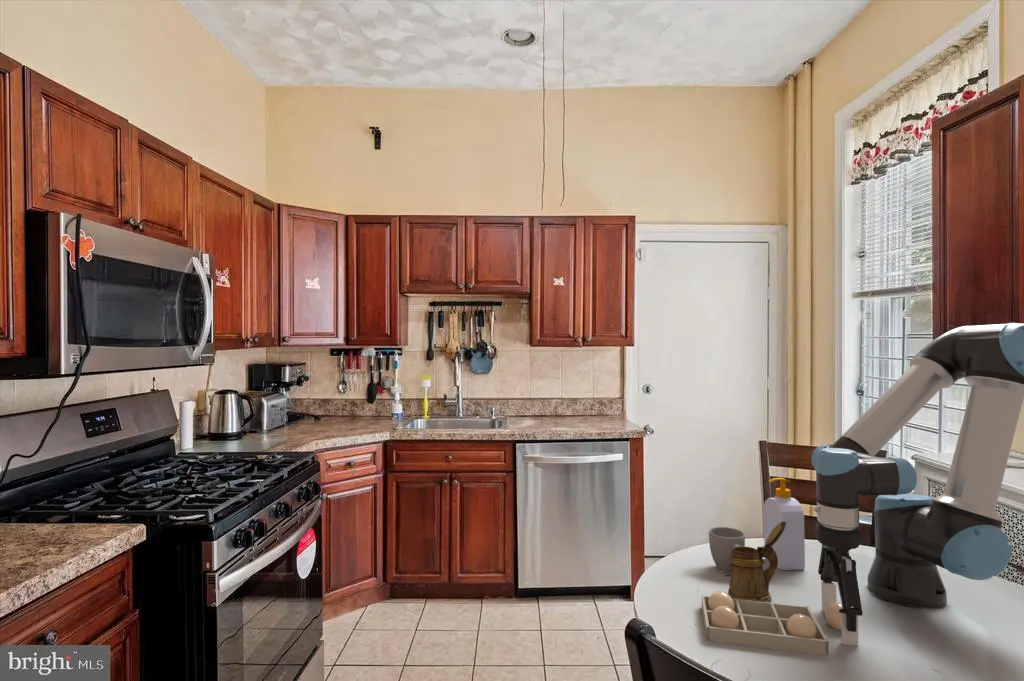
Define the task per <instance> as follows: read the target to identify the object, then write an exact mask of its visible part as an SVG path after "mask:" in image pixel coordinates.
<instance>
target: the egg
mask: <svg viewBox="0 0 1024 681" xmlns="http://www.w3.org/2000/svg"><path fill="white" fill-rule="evenodd" d="M840 609H843V607H842V602H836V603H832V604H830V605H829V606H828V607H827V608H826V611H825V612H824V617H825V620H826V622H827V624H828V625H829V626H830V627H832V628H833V629H835V630H837V631H841V613H840V612H839V610H840Z"/></svg>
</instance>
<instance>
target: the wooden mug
mask: <svg viewBox="0 0 1024 681" xmlns="http://www.w3.org/2000/svg"><path fill="white" fill-rule="evenodd" d="M785 526H786V522H785V521H784V522H781V523H779V524H778V525H776V526H775V528H774V529H773V530H772V532H771V533H770V535H769V537H768V538H767V541H766V544H765V546H764V545H761V546H756V548H755V547H751V546H746V545H745V546H737V547H733V548H732V553H731V555H730V562H731V571H730V573H729V574H730V575H729V587H728V590H727V594H728V595H729V596H730V597H731V598H732V599H741V600H750V601H760V602H770V603H771V602H772V597H771V592H770V591H769V590H770V589H769V588H770V582H771V580H772V578H773V576H774V575H775V573H776V571H777V569H778V567H777V565H778V558H777V555H776V552H775V551H774V549H773V548H772V546H773V545H774V544H775V543H776V542H777V540H778V539H779V538H780V536H781V535H782V533H783V531H784V529H785ZM763 558H765V559H766V558H767V559H768V560H769V561H768V560H767V559H766V560H767V561H768V562H769V566H768V568H766V569H765V568H764V567H763V565H764V564H765V560H764V559H763Z"/></svg>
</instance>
